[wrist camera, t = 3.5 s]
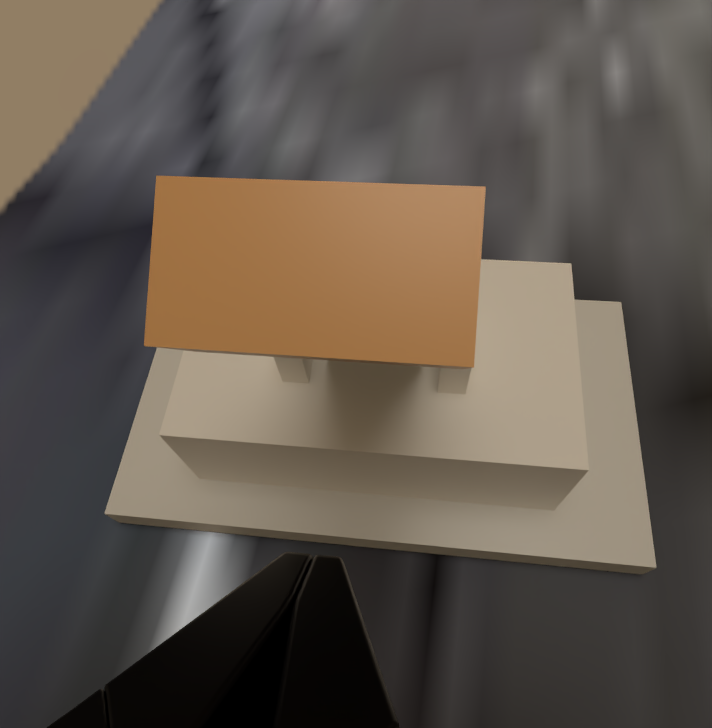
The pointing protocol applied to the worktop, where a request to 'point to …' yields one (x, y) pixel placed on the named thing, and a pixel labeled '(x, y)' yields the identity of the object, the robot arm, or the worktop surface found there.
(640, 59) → the worktop surface
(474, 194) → the lever
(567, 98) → the worktop surface
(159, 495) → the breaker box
